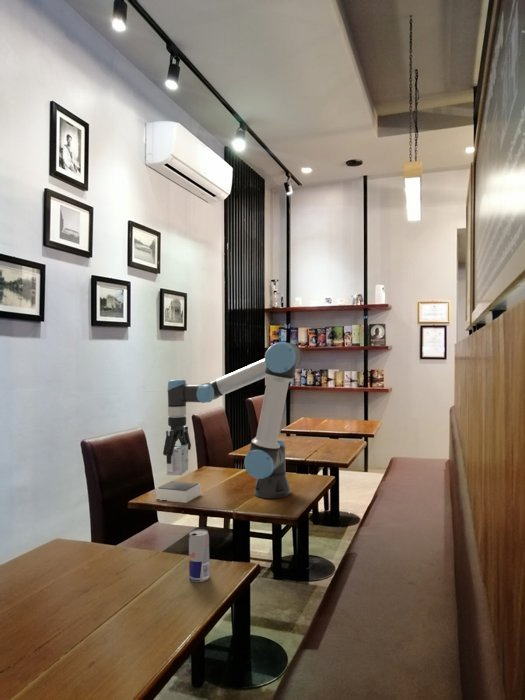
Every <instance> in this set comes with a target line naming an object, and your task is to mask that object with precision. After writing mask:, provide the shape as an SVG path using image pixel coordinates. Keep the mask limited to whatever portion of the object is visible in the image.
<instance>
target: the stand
mask: <svg viewBox="0 0 525 700" xmlns="http://www.w3.org/2000/svg"><path fill="white" fill-rule="evenodd" d="M155 492H156V499H160V500H159V501H162V500H167V501H166V502H175V503H189V502H190V501H192V500H194V499H196V498H198V497H200V496H201V484H200V483H199V482H188V481H186V482H185V481H173V480H172V481H170V482H167V483H165V484H163V485H160V486H159V487H157V488H156V491H155Z"/></svg>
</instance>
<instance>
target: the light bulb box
mask: <svg viewBox="0 0 525 700" xmlns="http://www.w3.org/2000/svg"><path fill="white" fill-rule="evenodd" d="M172 455H173V469H174V471H173V472H168V471H167V470H166V476H182V475H184V474H185V473H186V472H187V471H188V470H189V450H188V445H181V444H175V447H174V450H173V453H172Z"/></svg>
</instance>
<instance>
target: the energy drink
mask: <svg viewBox="0 0 525 700" xmlns="http://www.w3.org/2000/svg"><path fill="white" fill-rule="evenodd" d="M210 569H211V568H210V535H209V531H208V530H206V529H199V528H198V529H194V530H192V531H190V532H189V533H188V571H189V572H188V573H189V574H188V577H189V580H190V581H191V582H193V583H204V582H207V581H208V580H209V579H210V578H211V575H210V574H211V573H210V572H211V571H210Z"/></svg>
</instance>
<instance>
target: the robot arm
mask: <svg viewBox="0 0 525 700" xmlns="http://www.w3.org/2000/svg"><path fill="white" fill-rule="evenodd" d="M302 362H303V353H302V350H301V348H300V347H299V346H298V345H296V344H295V343H292V342H285V341H283V342H282V341H279V342H275V343H274V344H272V345H271V346H269V347H268V349H267V350H266V352H265V354H264V358H262V359H260V360H258V361H256V362H253V363H250V364H248V365H247V366H244V367H242V368H239V369H237V370H235V371H233V372H230V373H227V374H225V375H224V376H222V377H219V378H217V379H214V380H212V381H210V382H209V381H208V382H205V383H204V382H203V383H197V384H194V383H193V384H189V383H187V382H186V380H185V379H181V378H180V379H170V380H168V382H167V415H168V417H167V424H168V425H167V426H169V427H170V430H168V429H167V430H166V432H165V436H166V437H165V441H164V445H163V452H162V455H163V456H166V472H167V471H168V472H173V471H174V469H173V455H172V453H173V450H174V447H175V445H177V442H178V441H179V443H180V445H188V451H189V450H191V448H192V443H191V440H190V434H189V427H188V426H187V403H202V404H205V403H212V402H213V400H214V401H215V400H216V399H219V398H221V397H222V396H224V395H226V394H227V395H228V394H229V393H231V392H234V391H236V390H239V389H241V388H243V387H245V386H248V385H251V384H253V383H255V382H257V381H260V380H262V379H265V378H267V381H266V385H265V390H264V395H263V401H262V406H261V410H260V415H259V420H258V426H257V430H256V436H255V437H254V438H253V439H251V441H250V447H249V452H247V454H246V455H245V457H244V462H243V463H244V464H243V466H244V468H245V470H246V472H247V473H248V475H250V477H252V478H254V479H256V483H255V486H254V495H255V497H258V498H262V499H271V500H272V499H281V498H286V497H288V496H290V495H291V487H290V483H289V482H288V479H287V475H286V474H287V473H286V443H285V441H284V440H283V439H279V435H280V431H281V430H280V429H281V425H282V420H283V414H284V413H283V412H284V409H285V403H286V399H287V393H288V390H289V384H290V382H291V381H293V380H294V378H295V375H296V370H297V368H299V367H300V365H301V363H302ZM289 494H290V495H289Z"/></svg>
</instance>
